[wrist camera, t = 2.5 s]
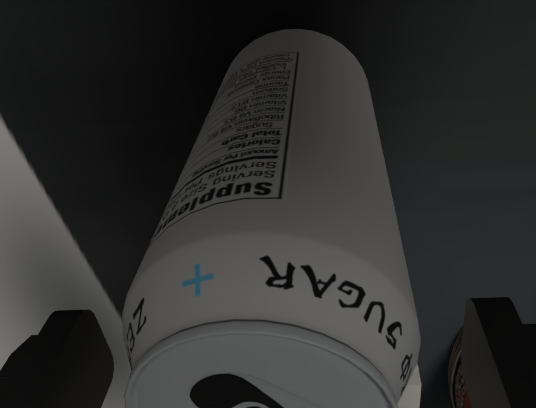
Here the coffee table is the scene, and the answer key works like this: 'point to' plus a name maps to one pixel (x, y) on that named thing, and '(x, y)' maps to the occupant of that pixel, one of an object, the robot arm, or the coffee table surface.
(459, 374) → the lighter
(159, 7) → the coffee table surface
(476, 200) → the coffee table surface
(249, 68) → the energy drink can
